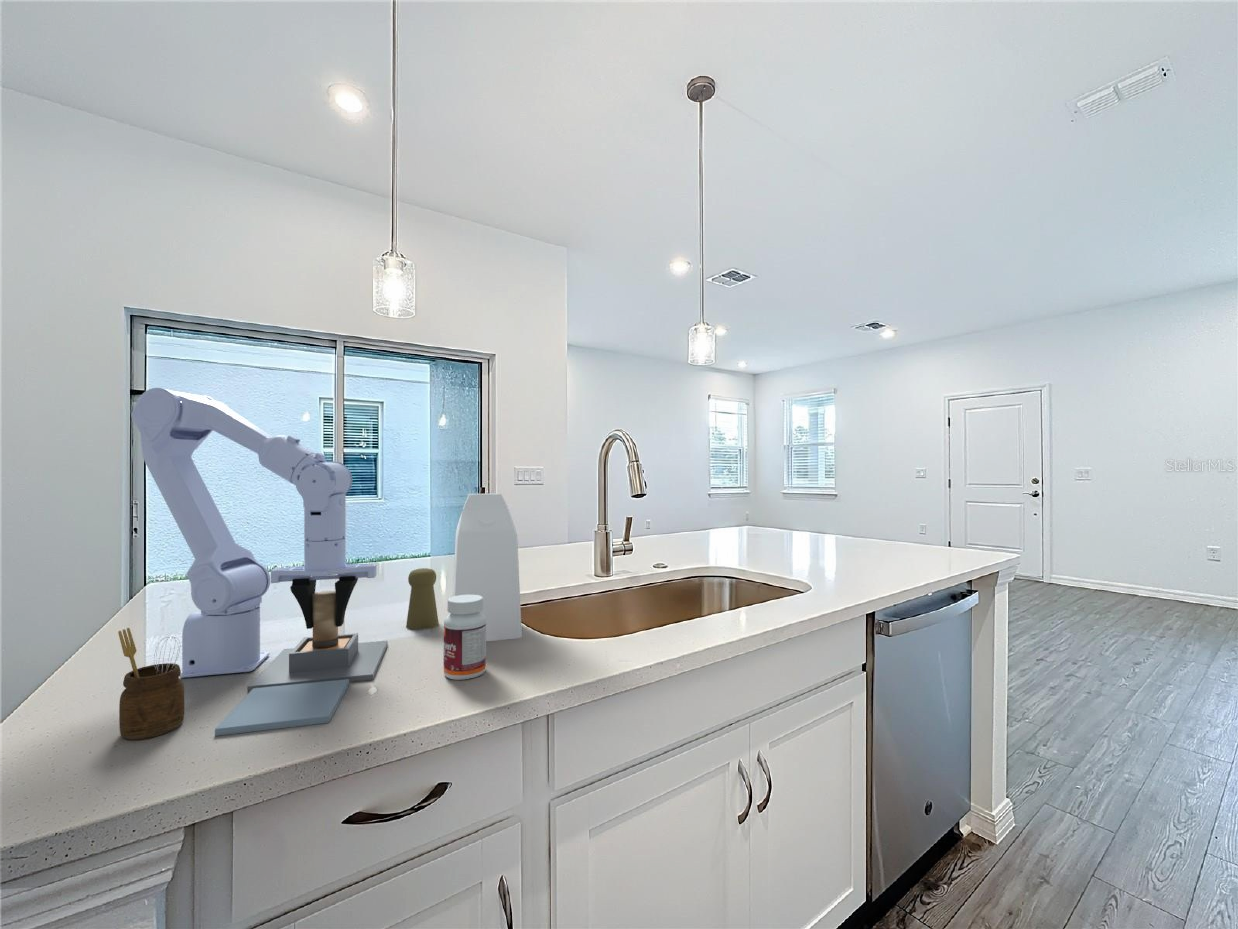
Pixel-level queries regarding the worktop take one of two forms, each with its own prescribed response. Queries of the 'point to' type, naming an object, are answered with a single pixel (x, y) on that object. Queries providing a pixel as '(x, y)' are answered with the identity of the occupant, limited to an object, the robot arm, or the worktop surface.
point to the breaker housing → (323, 664)
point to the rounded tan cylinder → (324, 620)
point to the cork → (422, 600)
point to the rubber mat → (284, 707)
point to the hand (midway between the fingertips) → (325, 626)
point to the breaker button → (341, 644)
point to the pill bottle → (464, 638)
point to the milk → (489, 563)
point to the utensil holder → (150, 696)
